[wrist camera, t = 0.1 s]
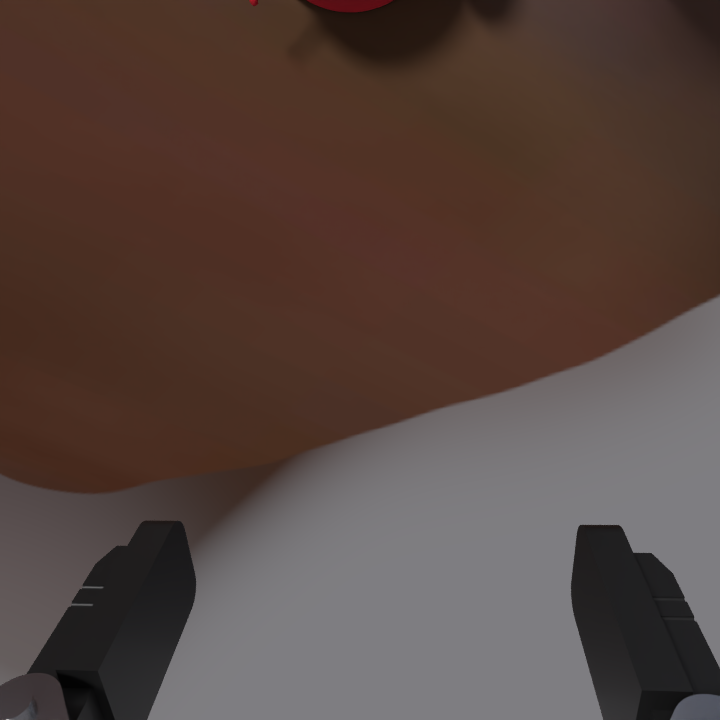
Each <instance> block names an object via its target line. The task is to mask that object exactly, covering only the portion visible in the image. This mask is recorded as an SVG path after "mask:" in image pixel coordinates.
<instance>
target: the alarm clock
mask: <svg viewBox="0 0 720 720" xmlns="http://www.w3.org/2000/svg"><path fill="white" fill-rule="evenodd" d="M249 1H250V3H251V4H252V5H253V6H256V5H257V4H258V0H249ZM307 1H308V2H310V3H313V4H315V5H317V6H319V7H322V8H325V9H329V10H333V11H338V12H363V11H368V10H372V9H375V8H378V7H381V6H384V5H386V4H388V3H390V2H392V1H394V0H307Z"/></svg>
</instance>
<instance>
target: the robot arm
mask: <svg viewBox="0 0 720 720" xmlns="http://www.w3.org/2000/svg"><path fill="white" fill-rule="evenodd" d="M195 593H196V578H195V571H194V567H193V563H192V558H191V554H190V550H189V545H188V541H187V537H186V532H185V528H184V526H183V524H182V522H180V521H144V522H142V523H141V524H140V526H139V527H138V529H137V530H136V532H135V534H134V536H133V537H132V539H131V541H130V542H129V544H128V546H116V547H115V548H114V549H113V550H111V551H110V552H109V553H108V554H107V555H106V556H104V557H103V558H102V559H101V560H100V561H99V562H97V563H96V564H95V566H94V567H93V569H92V571H91V572H90V574H89V575H88V577H87V579H86V580H85V582H84V583H83V587H82V589H80V590H79V591H78V593H77V595H76V596H75V598H74V600H73V601H72V605H71V607H68V609H67V610H66V612H65V614H64V615H63V617H62V618H61V620H60V622H59V623H58V625H57V627H56V628H55V630H54V631H53V633H52V634H51V636H50V638H49V639H48V641H47V643H46V644H45V646H44V647H43V649H42V650H41V652H40V654H39V655H38V657H37V658H36V660H35V661H34V663H33V665H32V666H31V668H30V670H29V671H28V672H27V674H25V675H22V676H18V677H16V678H13V679H11V680H10V681H8V682H5V683H4V684H2V685H1V686H0V720H147V718H148V716H149V713H150V711H151V708H152V706H153V703H154V701H155V698H156V696H157V694H158V691H159V688H160V686H161V684H162V681H163V679H164V676H165V674H166V671H167V668H168V666H169V664H170V661H171V659H172V656H173V654H174V651H175V649H176V646H177V644H178V642H179V639H180V637H181V634H182V632H183V629H184V627H185V624H186V622H187V619H188V617H189V614H190V612H191V609H192V606H193V603H194V599H195ZM571 597H572V607H573V612H574V617H575V621H576V624H577V627H578V631H579V635H580V638H581V641H582V645H583V649H584V653H585V656H586V659H587V663H588V667H589V670H590V674H591V677H592V681H593V685H594V688H595V692H596V695H597V699H598V702H599V706H600V709H601V713H602V716H603V720H720V668H719V666H718V664H717V662H716V660H715V658H714V656H713V654H712V652H711V650H710V648H709V646H708V644H707V642H706V640H705V638H704V636H703V634H702V632H701V630H700V628H699V625H698V624H697V622H695V621H694V615H693V613H692V611H691V610H690V607H689V605H688V603H687V602H685V600H684V595H683V593H682V591H681V589H680V587H679V585H678V583H677V581H676V579H675V577H674V575H673V573H672V572H671V571H670V570H668V568H666V567H665V566H664V565H663V564H662V563H661V562H660V561H659V560H658V559H657V558H656V557H655V556H654V555H653V554H652V553H633V551H632V549H631V547H630V544H629V542H628V540H627V538H626V536H625V533H624V531H623V529H622V527H621V526H619V525H580V526H579V527H578V531H577V538H576V547H575V555H574V564H573V573H572V581H571Z"/></svg>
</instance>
